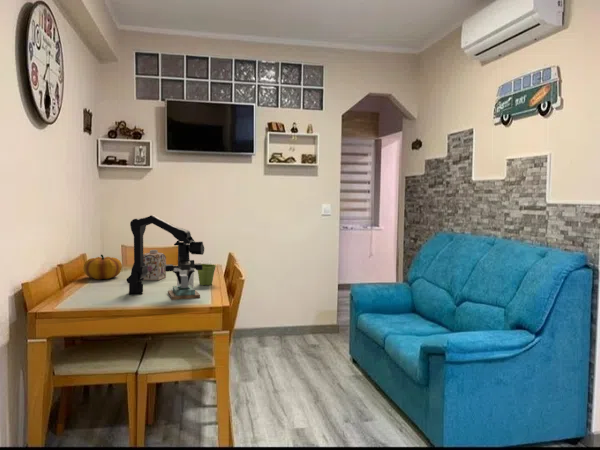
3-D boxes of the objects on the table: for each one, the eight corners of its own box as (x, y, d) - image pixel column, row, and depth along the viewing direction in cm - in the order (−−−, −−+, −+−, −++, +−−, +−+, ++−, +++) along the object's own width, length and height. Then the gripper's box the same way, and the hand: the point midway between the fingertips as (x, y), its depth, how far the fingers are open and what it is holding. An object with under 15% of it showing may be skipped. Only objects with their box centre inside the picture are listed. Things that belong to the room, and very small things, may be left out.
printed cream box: (194, 288, 255) (194, 266, 254) (189, 289, 252) (189, 267, 251) (181, 286, 260) (181, 264, 260) (175, 287, 257) (175, 265, 256)
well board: (171, 299, 226) (171, 291, 226) (167, 293, 241) (167, 285, 240) (200, 297, 231) (200, 290, 231) (194, 291, 246) (194, 284, 246)
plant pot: (211, 286, 260) (211, 267, 259) (192, 285, 262) (192, 266, 261) (219, 283, 271) (219, 264, 270) (200, 282, 274) (200, 263, 273)
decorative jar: (166, 277, 287) (166, 249, 286) (159, 280, 275) (158, 251, 274) (148, 276, 288) (148, 248, 287) (140, 280, 276) (140, 250, 275)
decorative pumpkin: (122, 280, 276) (121, 255, 275) (82, 281, 268) (81, 256, 267) (122, 274, 295) (121, 251, 294) (84, 276, 286) (84, 252, 285)
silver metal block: (181, 288, 232) (181, 276, 231) (179, 285, 238) (179, 274, 238) (188, 287, 233) (188, 276, 233) (185, 285, 240) (185, 273, 239)
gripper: (167, 256, 224) (166, 287, 225) (204, 255, 231) (204, 285, 232) (164, 253, 234) (164, 283, 235) (200, 252, 241) (200, 281, 242)
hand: (183, 283), depth 236 cm, fingers closed on silver metal block, 3 cm apart
